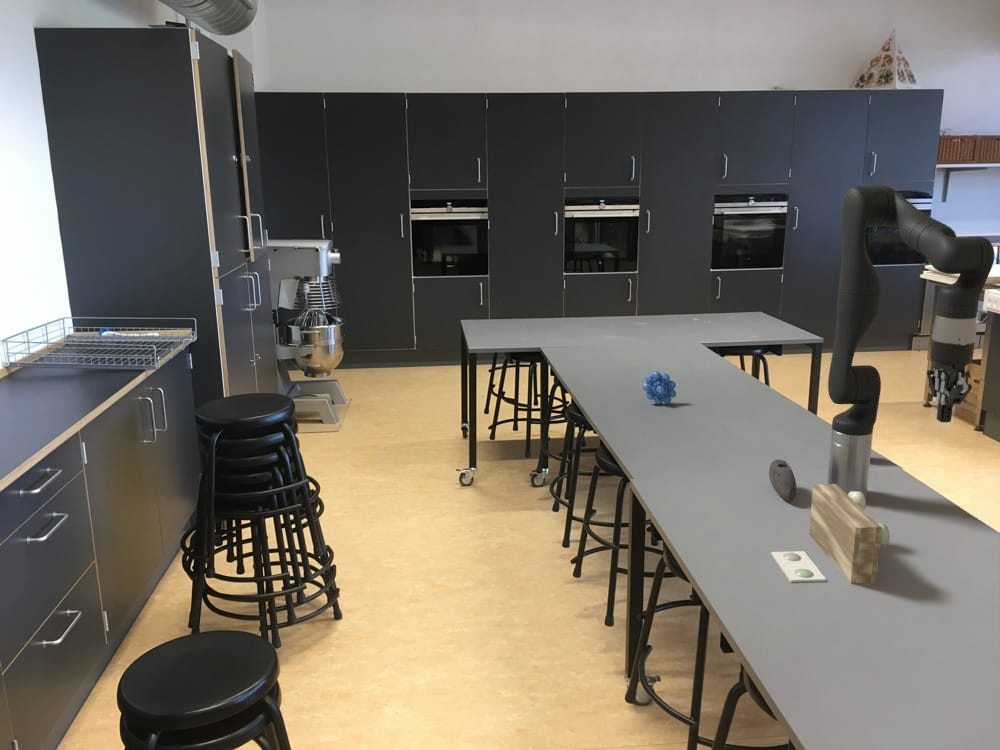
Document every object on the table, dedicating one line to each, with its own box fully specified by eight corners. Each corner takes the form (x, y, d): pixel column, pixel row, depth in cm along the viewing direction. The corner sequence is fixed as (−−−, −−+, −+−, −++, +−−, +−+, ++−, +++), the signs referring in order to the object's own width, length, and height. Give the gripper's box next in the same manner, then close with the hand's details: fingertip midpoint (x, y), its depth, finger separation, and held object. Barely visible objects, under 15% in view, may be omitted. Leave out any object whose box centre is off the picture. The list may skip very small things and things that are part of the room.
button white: (855, 506, 179) (857, 488, 178) (864, 515, 174) (866, 496, 173) (830, 507, 179) (831, 488, 178) (838, 515, 174) (839, 496, 173)
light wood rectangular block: (831, 533, 181) (835, 483, 178) (875, 582, 160) (881, 527, 157) (809, 534, 181) (813, 484, 178) (850, 583, 160) (855, 527, 157)
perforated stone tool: (800, 506, 196) (802, 480, 194) (778, 506, 196) (780, 479, 195) (787, 483, 210) (789, 458, 208) (766, 482, 211) (768, 457, 209)
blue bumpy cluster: (643, 408, 277) (644, 374, 274) (641, 402, 284) (642, 369, 281) (678, 408, 276) (679, 374, 273) (675, 402, 283) (676, 369, 280)
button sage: (878, 539, 163) (880, 519, 162) (888, 549, 159) (890, 528, 158) (849, 540, 163) (851, 519, 162) (859, 550, 159) (861, 529, 158)
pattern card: (771, 554, 173) (771, 551, 172) (803, 553, 172) (804, 550, 172) (790, 582, 161) (790, 579, 161) (825, 581, 161) (826, 578, 161)
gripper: (917, 332, 167) (909, 412, 171) (952, 346, 154) (942, 432, 159) (954, 331, 167) (944, 411, 171) (991, 345, 154) (980, 431, 159)
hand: (943, 421), depth 165 cm, fingers closed
